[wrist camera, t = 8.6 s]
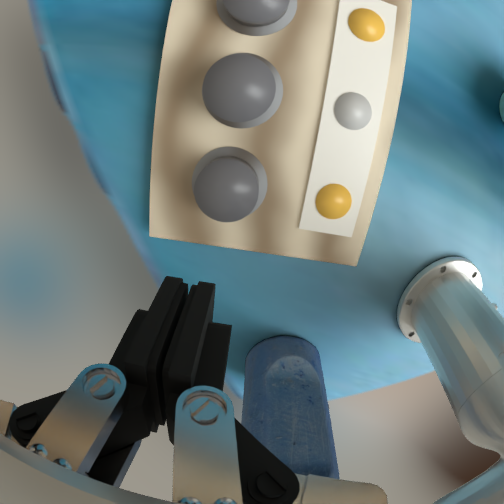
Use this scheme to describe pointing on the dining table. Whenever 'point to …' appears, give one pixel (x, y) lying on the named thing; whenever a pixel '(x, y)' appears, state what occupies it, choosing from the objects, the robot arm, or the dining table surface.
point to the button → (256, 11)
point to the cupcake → (502, 107)
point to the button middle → (239, 88)
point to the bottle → (290, 405)
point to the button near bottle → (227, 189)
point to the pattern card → (349, 116)
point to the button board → (257, 127)
